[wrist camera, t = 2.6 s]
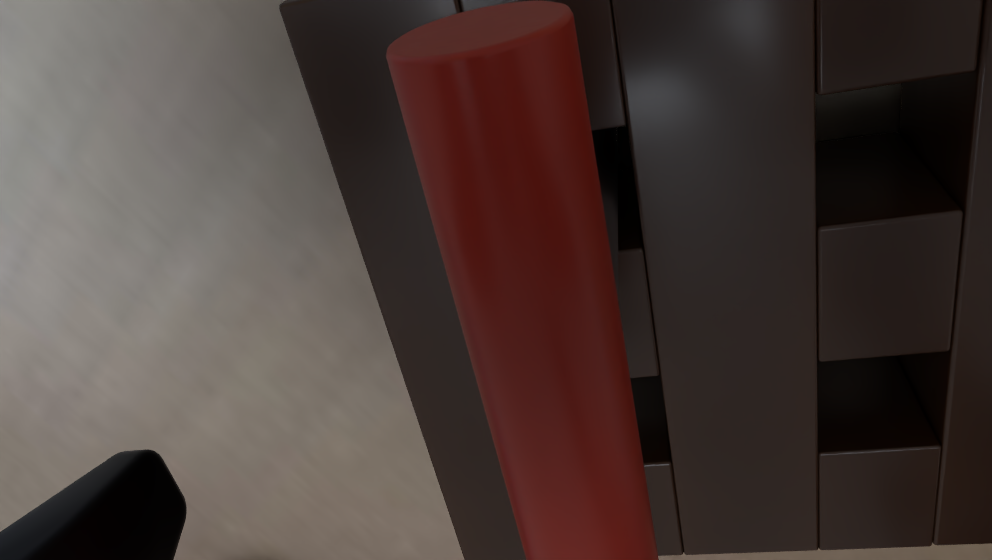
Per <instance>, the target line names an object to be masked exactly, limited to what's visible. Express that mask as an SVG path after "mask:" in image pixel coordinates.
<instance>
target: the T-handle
mask: <svg viewBox="0 0 992 560" xmlns="http://www.w3.org/2000/svg"><path fill="white" fill-rule="evenodd" d="M386 59H387V62H388V66H389V70H390V73H391V77H392V80H393V84H394V87H395V91H396V95H397V98H398V102H399V105H400V109H401V113H402V116H403V120H404V123H405V127H406V130H407V134H408V138H409V141H410V145H411V148H412V152H413V156H414V159H415V163H416V166H417V170H418V173H419V177H420V181H421V184H422V188H423V191H424V195H425V198H426V202H427V206H428V209H429V213H430V216H431V220H432V224H433V227H434V231H435V234H436V238H437V241H438V245H439V249H440V252H441V256H442V259H443V263H444V266H445V270H446V274H447V277H448V281H449V284H450V288H451V292H452V295H453V299H454V302H455V306H456V309H457V313H458V317H459V320H460V324H461V327H462V331H463V335H464V338H465V342H466V345H467V349H468V352H469V356H470V360H471V363H472V367H473V370H474V374H475V377H476V381H477V385H478V388H479V392H480V395H481V399H482V403H483V406H484V410H485V413H486V417H487V420H488V424H489V428H490V431H491V435H492V438H493V442H494V445H495V449H496V453H497V456H498V460H499V463H500V467H501V471H502V474H503V478H504V481H505V485H506V488H507V492H508V496H509V499H510V503H511V506H512V510H513V514H514V517H515V521H516V524H517V528H518V531H519V535H520V539H521V542H522V546H523V549H524V553H525V556H526V560H659V559H658V552H657V546H656V540H655V533H654V527H653V520H652V514H651V508H650V501H649V495H648V488H647V482H646V476H645V469H644V463H643V456H642V450H641V444H640V437H639V431H638V424H637V418H636V412H635V405H634V399H633V392H632V386H631V380H630V373H629V367H628V361H627V354H626V348H625V341H624V335H623V329H622V322H621V316H620V309H619V303H618V145H617V127H615V128H609V129H602V130H595V131H592V130H591V124H590V117H589V111H588V105H587V98H586V92H585V85H584V79H583V73H582V66H581V60H580V53H579V47H578V41H577V34H576V28H575V21H574V15H573V13H572V11H571V9H570V8H569V7H568V6H567V5H565V4H562V3H558V2H551V1H522V2H512V3H505V4H498V5H493V6H487V7H482V8H478V9H473V10H469V11H465V12H461V13H458V14H454V15H451V16H447V17H444V18H441V19H438V20H435V21H432V22H430V23H427V24H425V25H422V26H420V27H417V28H415V29H413V30H411V31H409V32H407V33H406V34H404V35H402V36H401V37H399V38H398V39H396V40H395V41H394V42H392V43H391V44H390V45H389V47H388V48H387V53H386Z"/></svg>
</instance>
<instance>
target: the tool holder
mask: <svg viewBox="0 0 992 560" xmlns="http://www.w3.org/2000/svg"><path fill="white" fill-rule="evenodd" d="M522 1H551V2H558V3H562V4H565V5H567V6H568V7H569V8H570V9H571V11H572V13H573V15H574V21H575V28H576V34H577V41H578V47H579V53H580V60H581V66H582V73H583V79H584V85H585V92H586V98H587V105H588V111H589V117H590V124H591V130H592V131H595V130H602V129H609V128H615V127H622V126H625V125H626V123H627V126H628V134H629V141H630V149H631V157H632V164H633V168H630V169H623V170H618V303H619V309H620V316H621V322H622V329H623V335H624V341H625V348H626V354H627V361H628V367H629V373H630V380H631V386H632V392H633V399H634V405H635V412H636V418H637V424H638V431H639V437H640V444H641V450H642V456H643V463H644V469H645V476H646V482H647V488H648V495H649V501H650V508H651V514H652V520H653V527H654V533H655V540H656V546H657V552H658V556H663V555H682V554H683V552H684V553H685V554H686V555H696V554H724V553H752V552H780V551H808V550H818V548H820V550H838V549H866V548H894V547H923V546H931V545H932V543H933V544H935V545H957V544H985V543H992V0H286V1H284V2H283V3H281V4H280V5H279V9H280V12H281V15H282V18H283V21H284V24H285V27H286V30H287V33H288V36H289V39H290V42H291V45H292V48H293V51H294V54H295V57H296V60H297V63H298V66H299V69H300V72H301V75H302V78H303V81H304V84H305V87H306V89H307V92H308V95H309V98H310V101H311V104H312V107H313V110H314V113H315V116H316V119H317V122H318V125H319V128H320V131H321V134H322V137H323V140H324V143H325V146H326V149H327V152H328V155H329V158H330V161H331V164H332V167H333V170H334V173H335V176H336V179H337V182H338V185H339V188H340V190H341V193H342V196H343V199H344V202H345V205H346V208H347V211H348V214H349V217H350V220H351V223H352V226H353V229H354V232H355V235H356V238H357V241H358V244H359V247H360V250H361V253H362V256H363V259H364V262H365V265H366V268H367V271H368V274H369V277H370V280H371V283H372V286H373V289H374V291H375V294H376V297H377V300H378V303H379V306H380V309H381V312H382V315H383V318H384V321H385V324H386V327H387V330H388V333H389V336H390V339H391V342H392V345H393V348H394V351H395V354H396V357H397V360H398V363H399V366H400V369H401V372H402V375H403V378H404V381H405V384H406V387H407V390H408V392H409V395H410V398H411V401H412V404H413V407H414V410H415V413H416V416H417V419H418V422H419V425H420V428H421V431H422V434H423V437H424V440H425V443H426V446H427V449H428V452H429V455H430V458H431V461H432V464H433V467H434V470H435V473H436V476H437V479H438V482H439V485H440V488H441V491H442V493H443V496H444V499H445V502H446V505H447V508H448V511H449V514H450V517H451V520H452V523H453V526H454V529H455V532H456V535H457V538H458V541H459V544H460V547H461V550H462V553H463V556H464V559H465V560H526V556H525V553H524V549H523V546H522V542H521V539H520V535H519V531H518V528H517V524H516V521H515V517H514V514H513V510H512V506H511V503H510V499H509V496H508V492H507V488H506V485H505V481H504V478H503V474H502V471H501V467H500V463H499V460H498V456H497V453H496V449H495V445H494V442H493V438H492V435H491V431H490V428H489V424H488V420H487V417H486V413H485V410H484V406H483V403H482V399H481V395H480V392H479V388H478V385H477V381H476V377H475V374H474V370H473V367H472V363H471V360H470V356H469V352H468V349H467V345H466V342H465V338H464V335H463V331H462V327H461V324H460V320H459V317H458V313H457V309H456V306H455V302H454V299H453V295H452V292H451V288H450V284H449V281H448V277H447V274H446V270H445V266H444V263H443V259H442V256H441V252H440V249H439V245H438V241H437V238H436V234H435V231H434V227H433V224H432V220H431V216H430V213H429V209H428V206H427V202H426V198H425V195H424V191H423V188H422V184H421V181H420V177H419V173H418V170H417V166H416V163H415V159H414V156H413V152H412V148H411V145H410V141H409V138H408V134H407V130H406V127H405V123H404V120H403V116H402V113H401V109H400V105H399V102H398V98H397V95H396V91H395V87H394V84H393V80H392V77H391V73H390V70H389V66H388V62H387V59H386V53H387V48H388V47H389V45H390V44H391V43H392V42H394V41H395V40H396V39H398V38H399V37H401V36H402V35H404V34H406V33H407V32H409V31H411V30H413V29H415V28H417V27H420V26H422V25H425V24H427V23H430V22H432V21H435V20H438V19H441V18H444V17H447V16H451V15H454V14H458V13H461V12H465V11H469V10H473V9H478V8H482V7H487V6H493V5H498V4H505V3H512V2H522ZM899 83H902V93H901V113H900V134H899V133H898V132H888V133H881V134H874V135H867V136H859V137H852V138H845V139H838V140H831V141H824V142H817V143H816V113H815V92H816V94H818V95H827V94H834V93H840V92H847V91H853V90H860V89H866V88H873V87H879V86H886V85H893V84H899Z"/></svg>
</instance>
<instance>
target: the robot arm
mask: <svg viewBox="0 0 992 560" xmlns="http://www.w3.org/2000/svg"><path fill="white" fill-rule="evenodd" d="M185 519H186V502H185V498H184V496H183V494H182V492H181V491H180V489H179V487H178V485H177V484H176V482H175V480H174V478H173V476H172V475H171V473H170V471H169V469H168V468H167V466H166V464H165V462H164V461H163V459H162V457H161V456H160V455H159V454H158V453H156V452H155V451H153V450H134V451H124V452H120V453H117V454H115V455H114V456H112V457H111V458H109V459H108V460H106V461H105V462H103V463H102V464H100V465H99V466H97V467H96V468H94V469H93V470H91V471H90V472H88V473H87V474H86V475H84V476H83V477H81V478H80V479H78V480H77V481H75V482H74V483H72V484H71V485H69V486H68V487H66V488H65V489H63V490H62V491H60V492H59V493H57V494H56V495H54V496H53V497H51V498H50V499H48V500H47V501H46V502H44V503H43V504H41V505H40V506H38V507H37V508H35V509H34V510H32V511H31V512H29V513H28V514H26V515H25V516H23V517H22V518H20V519H19V520H17V521H16V522H14V523H13V524H11V525H10V526H8V527H7V528H6V529H4V530H3V531H1V532H0V560H173V559H174V556H175V553H176V549H177V546H178V543H179V539H180V536H181V533H182V530H183V526H184V523H185Z"/></svg>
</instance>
